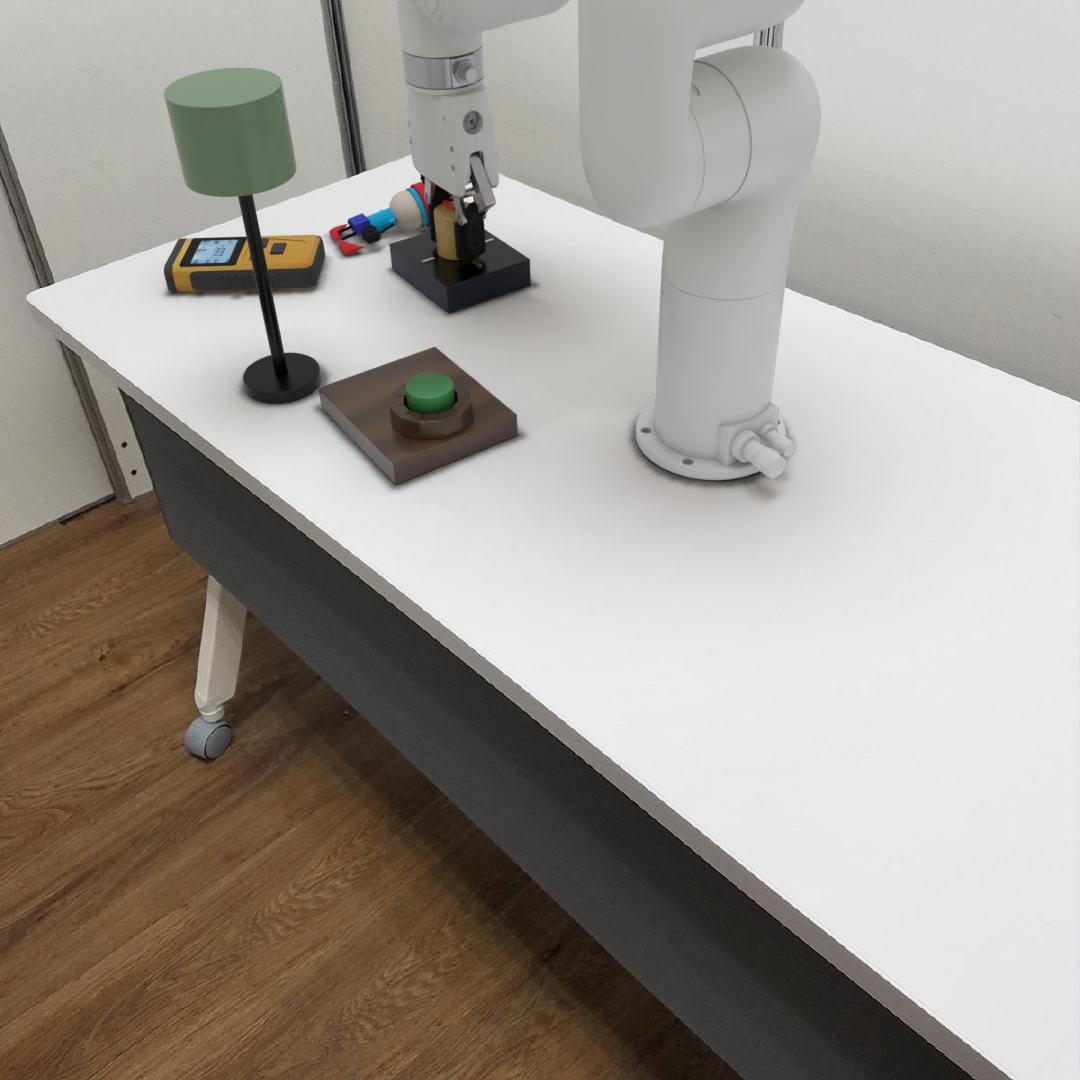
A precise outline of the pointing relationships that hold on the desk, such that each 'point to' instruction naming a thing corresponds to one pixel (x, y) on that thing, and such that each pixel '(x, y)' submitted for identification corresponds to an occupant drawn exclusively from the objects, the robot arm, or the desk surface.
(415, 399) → the switch
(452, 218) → the knob
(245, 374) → the lamp
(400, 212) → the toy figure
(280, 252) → the electronic device
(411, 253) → the dimmer panel
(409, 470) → the button base
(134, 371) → the desk surface
